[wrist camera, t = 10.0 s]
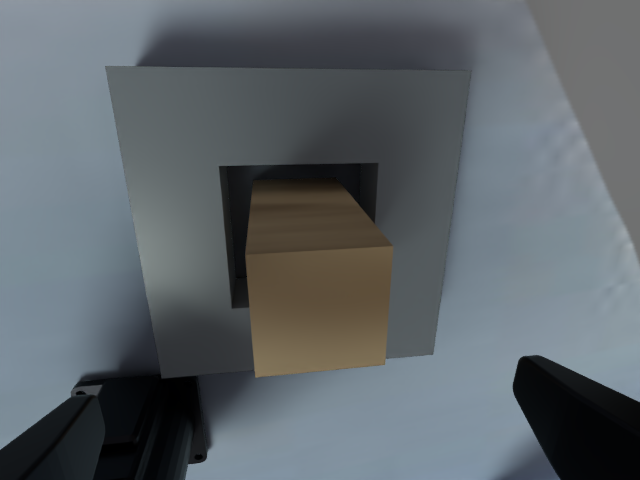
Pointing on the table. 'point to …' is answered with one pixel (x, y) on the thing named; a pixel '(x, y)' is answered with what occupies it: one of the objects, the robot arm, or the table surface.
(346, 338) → the peg
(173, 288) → the socket block
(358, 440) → the table surface
